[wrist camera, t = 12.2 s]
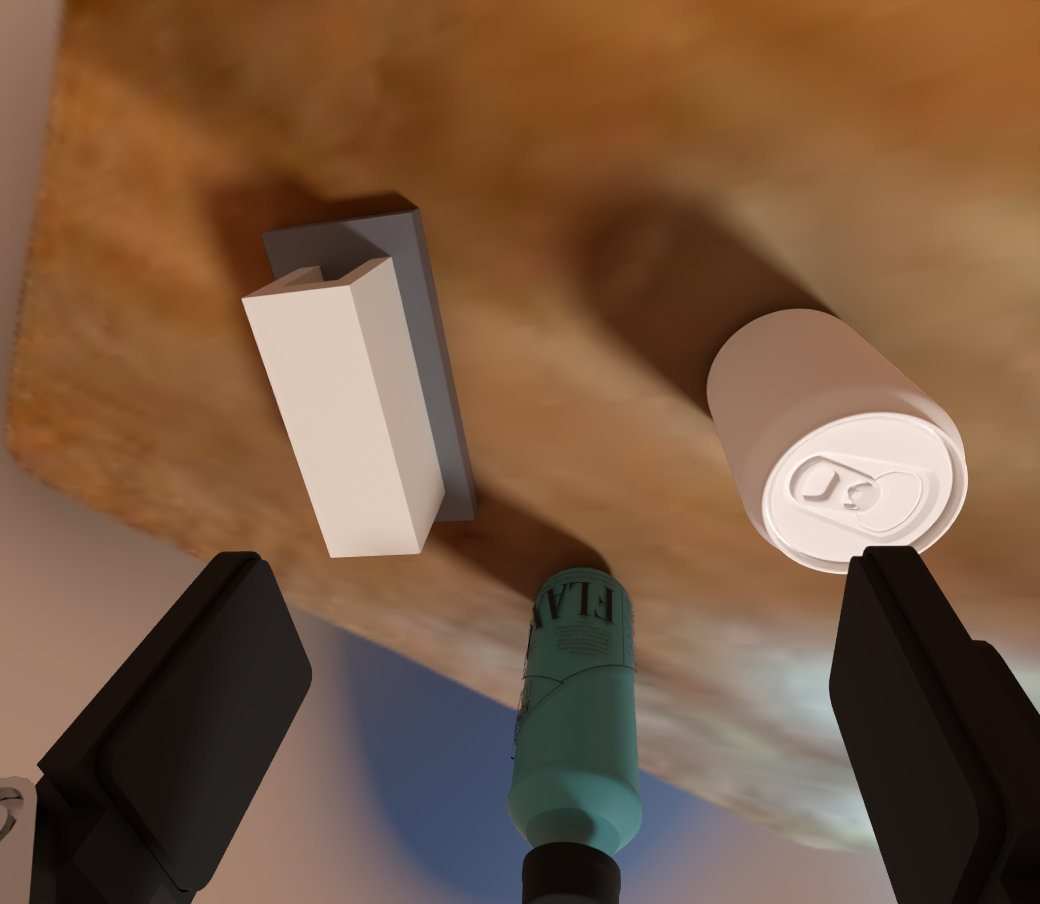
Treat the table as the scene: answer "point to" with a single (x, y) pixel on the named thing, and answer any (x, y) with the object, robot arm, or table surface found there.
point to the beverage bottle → (577, 741)
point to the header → (404, 241)
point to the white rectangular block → (352, 405)
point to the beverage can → (832, 441)
